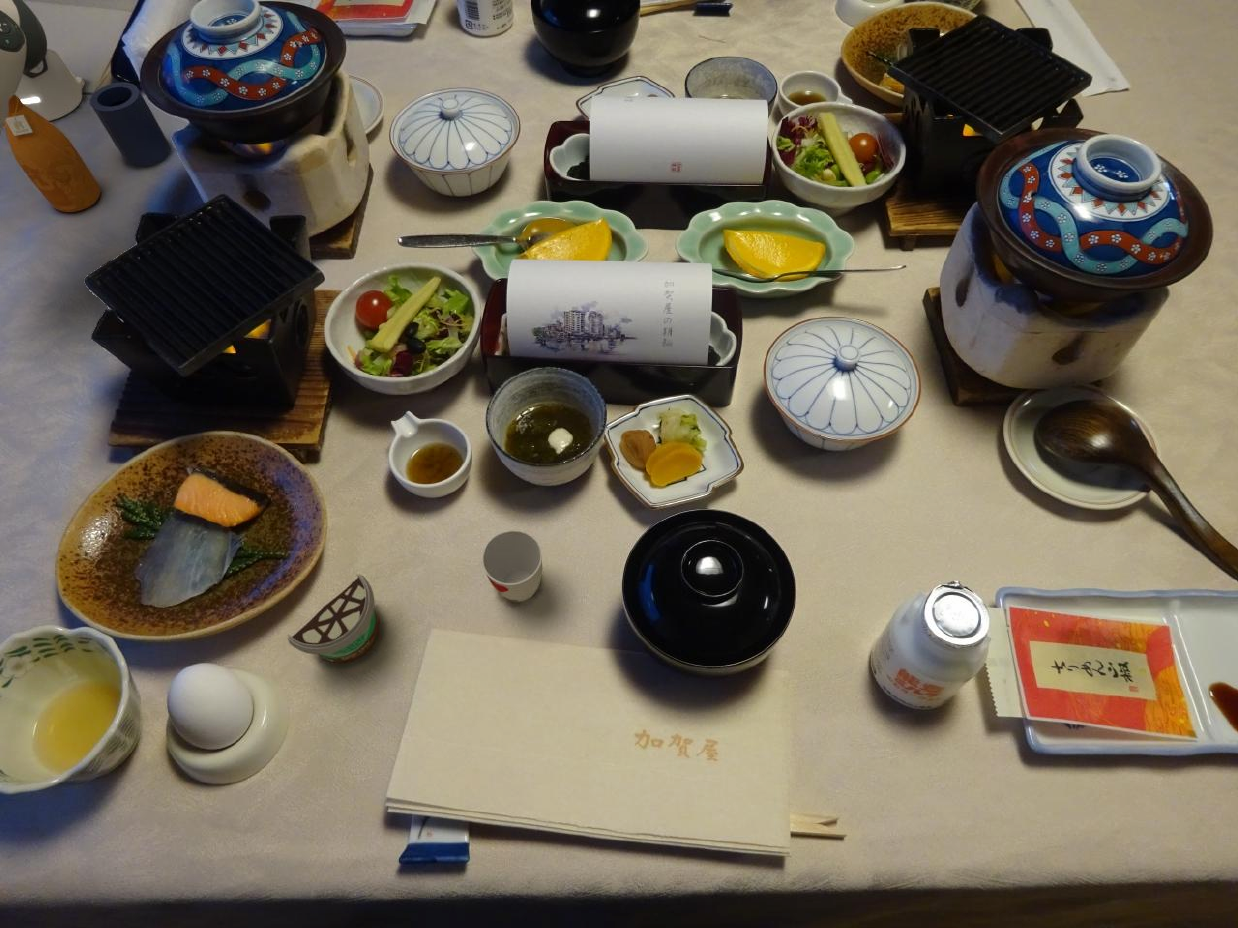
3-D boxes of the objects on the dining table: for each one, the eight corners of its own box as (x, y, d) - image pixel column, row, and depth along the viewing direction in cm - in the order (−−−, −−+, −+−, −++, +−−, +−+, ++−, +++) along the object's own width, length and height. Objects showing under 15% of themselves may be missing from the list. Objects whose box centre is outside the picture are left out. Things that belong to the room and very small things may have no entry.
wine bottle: (40, 209, 156) (-72, 65, 131) (72, 178, 161) (-30, 33, 135) (83, 220, 155) (-22, 76, 129) (114, 188, 160) (18, 43, 134)
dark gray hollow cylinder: (115, 157, 164) (79, 101, 153) (150, 134, 169) (117, 77, 158) (145, 173, 162) (111, 116, 151) (180, 149, 166) (149, 92, 155)
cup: (482, 575, 116) (472, 546, 107) (532, 551, 118) (525, 520, 109) (506, 621, 112) (497, 595, 104) (556, 595, 114) (552, 567, 106)
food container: (338, 691, 107) (314, 669, 98) (309, 662, 109) (284, 638, 100) (407, 625, 112) (390, 598, 103) (378, 598, 114) (359, 570, 105)
